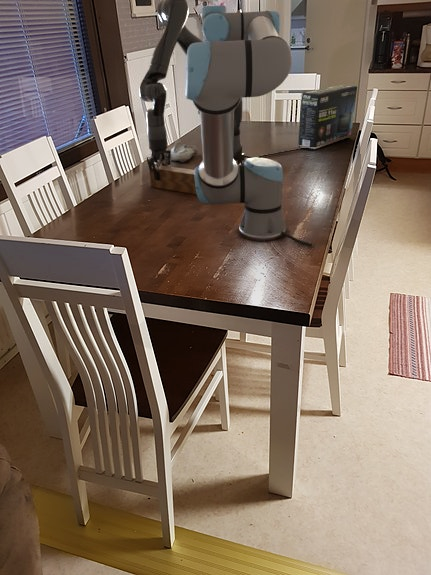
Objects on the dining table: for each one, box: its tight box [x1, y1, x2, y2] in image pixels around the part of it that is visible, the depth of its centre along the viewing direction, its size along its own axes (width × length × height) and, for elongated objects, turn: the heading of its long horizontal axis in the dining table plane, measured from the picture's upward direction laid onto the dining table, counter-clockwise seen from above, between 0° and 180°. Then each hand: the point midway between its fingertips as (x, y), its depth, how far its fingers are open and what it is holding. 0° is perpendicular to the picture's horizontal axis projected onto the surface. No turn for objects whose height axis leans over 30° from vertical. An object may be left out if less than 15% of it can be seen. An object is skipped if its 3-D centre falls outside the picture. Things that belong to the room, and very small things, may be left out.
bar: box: [149, 165, 197, 195], centre depth 187 cm, size 24×5×8 cm, turn 60°
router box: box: [297, 84, 358, 151], centre depth 238 cm, size 36×11×27 cm, turn 134°
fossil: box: [170, 142, 199, 163], centre depth 229 cm, size 18×11×15 cm
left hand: (161, 178), depth 191 cm, fingers closed on bar, 5 cm apart
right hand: (218, 131), depth 156 cm, fingers open, 13 cm apart
